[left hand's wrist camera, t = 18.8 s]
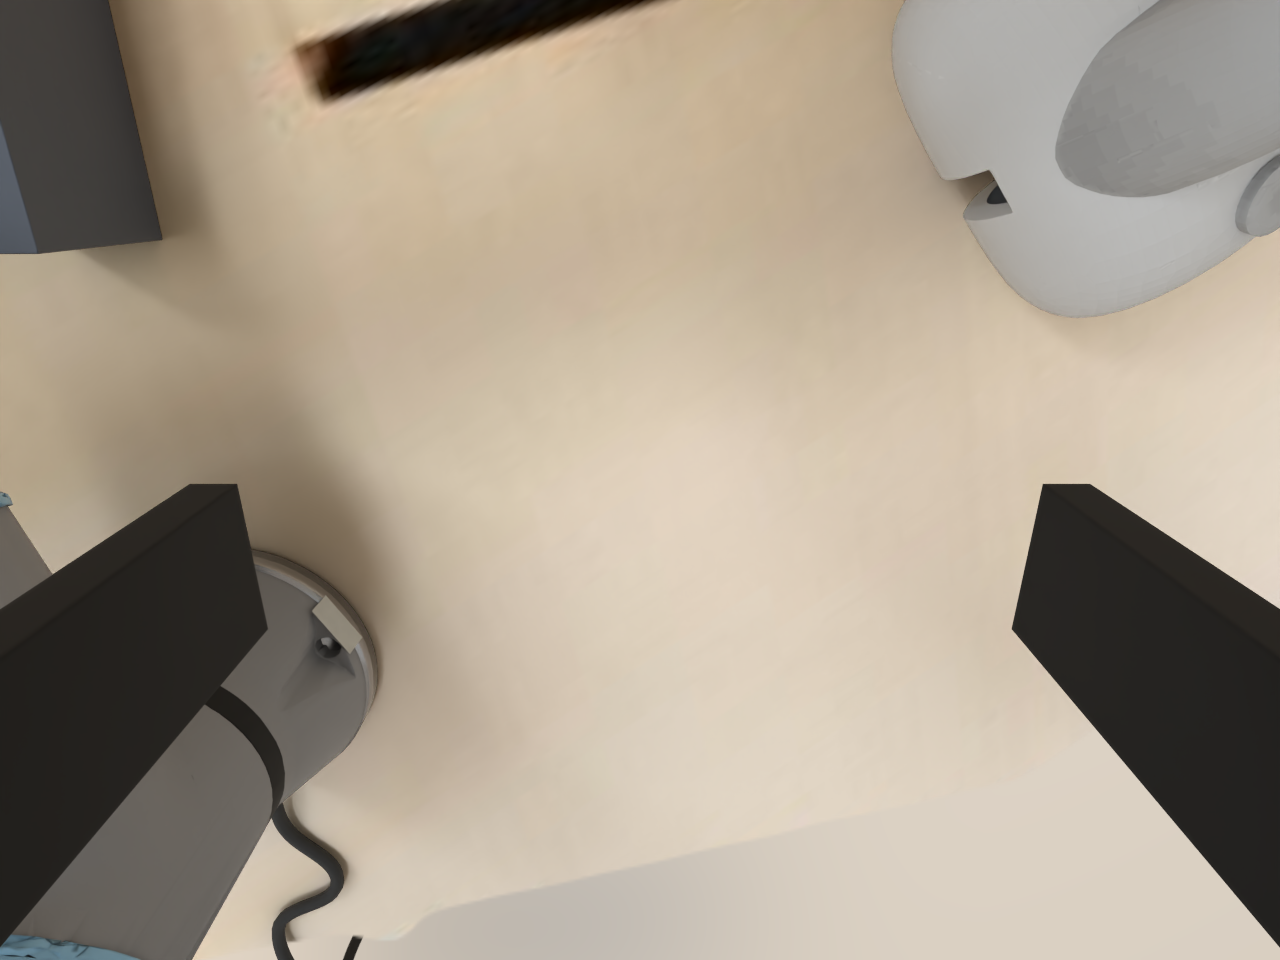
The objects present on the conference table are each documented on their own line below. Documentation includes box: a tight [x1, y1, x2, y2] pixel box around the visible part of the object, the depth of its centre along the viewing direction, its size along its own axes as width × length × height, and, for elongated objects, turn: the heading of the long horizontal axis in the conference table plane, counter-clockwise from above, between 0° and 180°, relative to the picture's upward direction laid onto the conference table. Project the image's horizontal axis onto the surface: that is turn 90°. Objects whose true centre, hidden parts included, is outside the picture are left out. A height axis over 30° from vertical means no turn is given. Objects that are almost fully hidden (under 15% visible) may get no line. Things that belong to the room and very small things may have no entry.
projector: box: [892, 0, 1280, 318], centre depth 26 cm, size 22×23×15 cm
